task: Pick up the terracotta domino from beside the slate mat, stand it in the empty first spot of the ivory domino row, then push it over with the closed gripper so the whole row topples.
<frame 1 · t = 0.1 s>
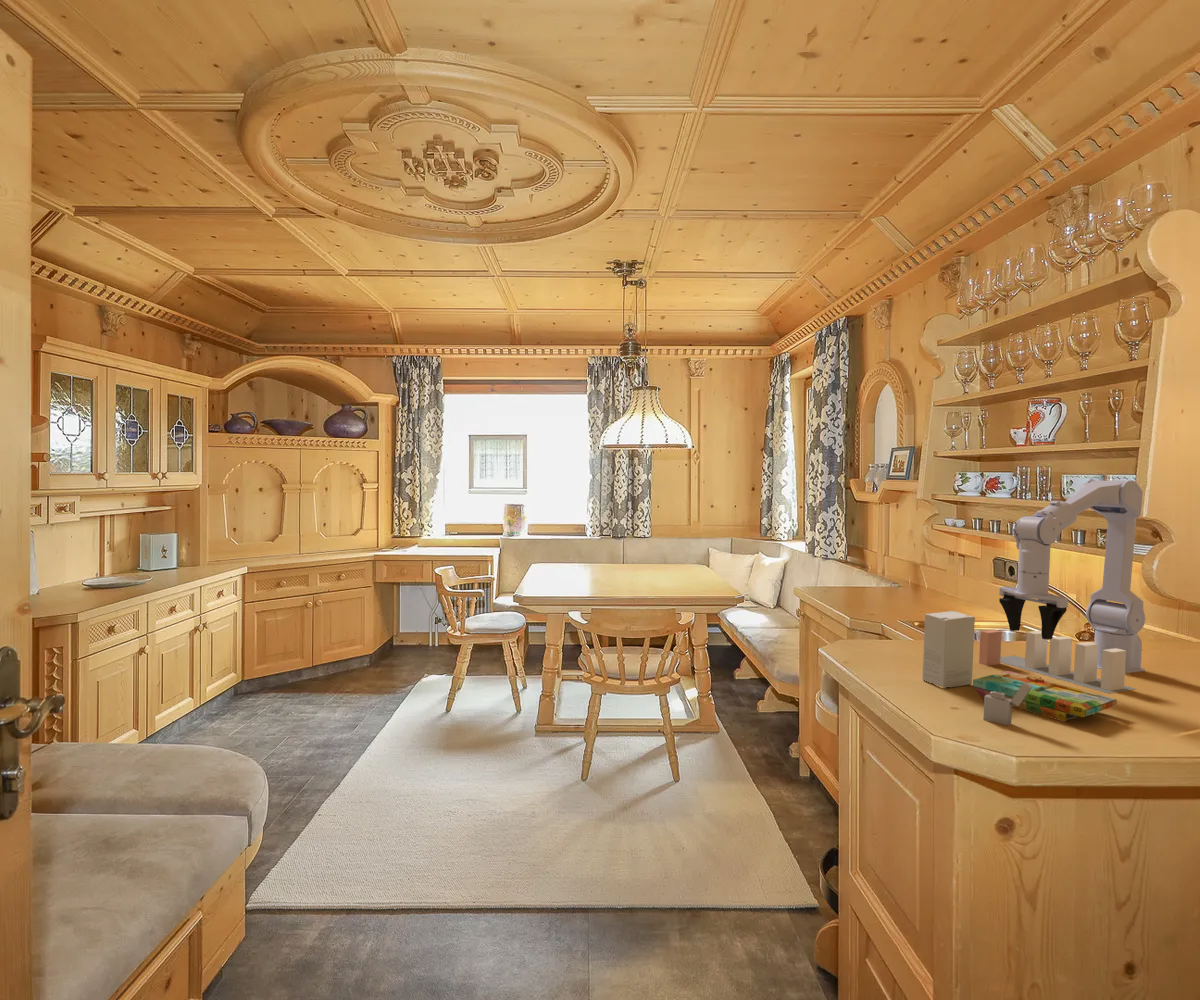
hand: (1030, 634, 148), 10 cm above the countertop, tool pointing down, fingers open, 7 cm apart
domino 3: (1059, 673, 153), resting on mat
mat: (1057, 674, 154), on the countertop
skincare box: (946, 684, 145), on the countertop
puzzle game: (1040, 709, 132), on the countertop
lighter: (1006, 724, 122), on the countertop
domino 4: (1084, 680, 148), resting on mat
domino 2: (1035, 666, 158), resting on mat
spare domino: (989, 665, 160), on the countertop
domino 5: (1112, 688, 143), resting on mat
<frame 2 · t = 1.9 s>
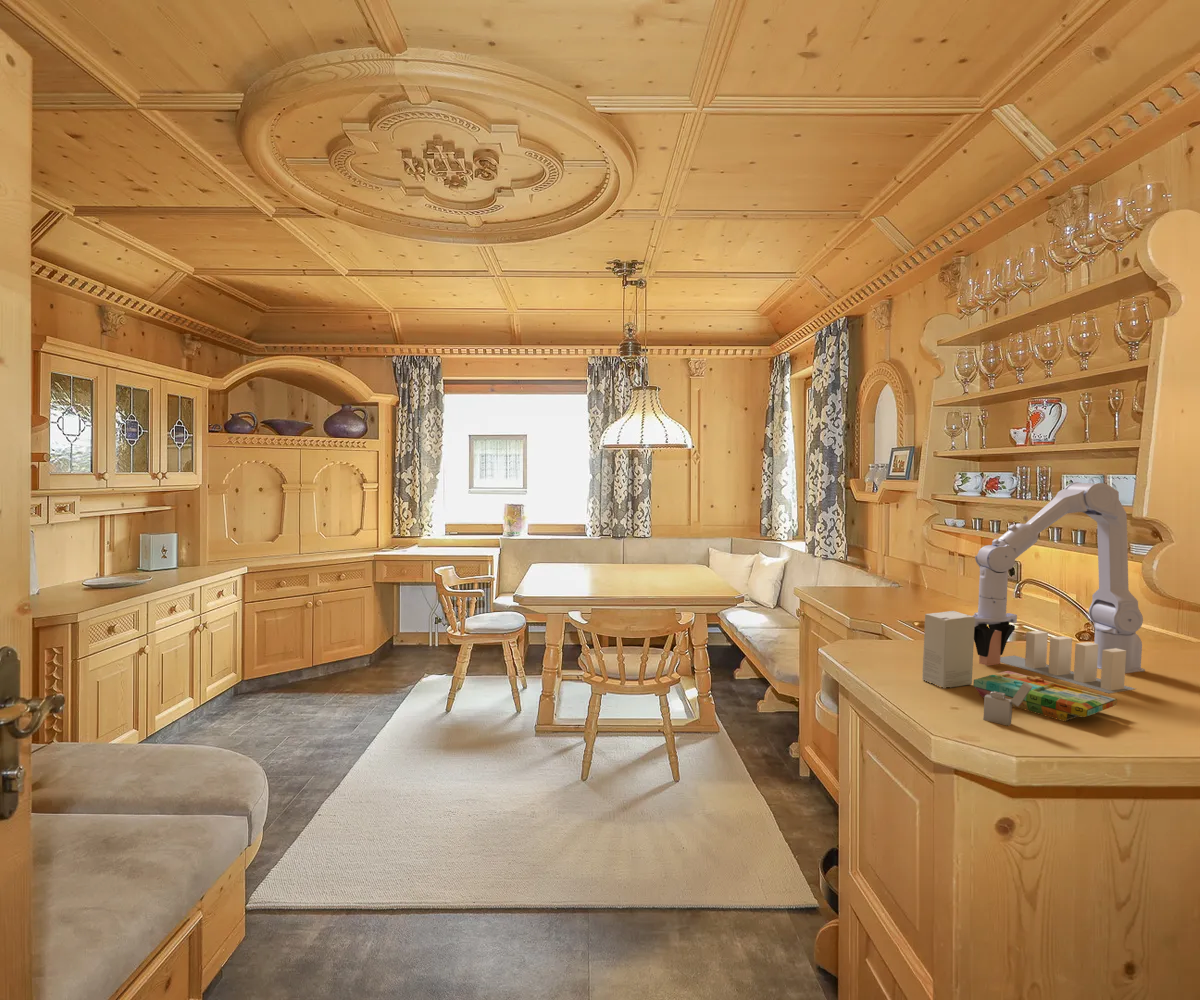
hand: (990, 654, 160), 2 cm above the countertop, tool pointing down, fingers closed on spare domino, 4 cm apart
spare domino: (989, 665, 160), on the countertop, touching gripper
everything else where it was.
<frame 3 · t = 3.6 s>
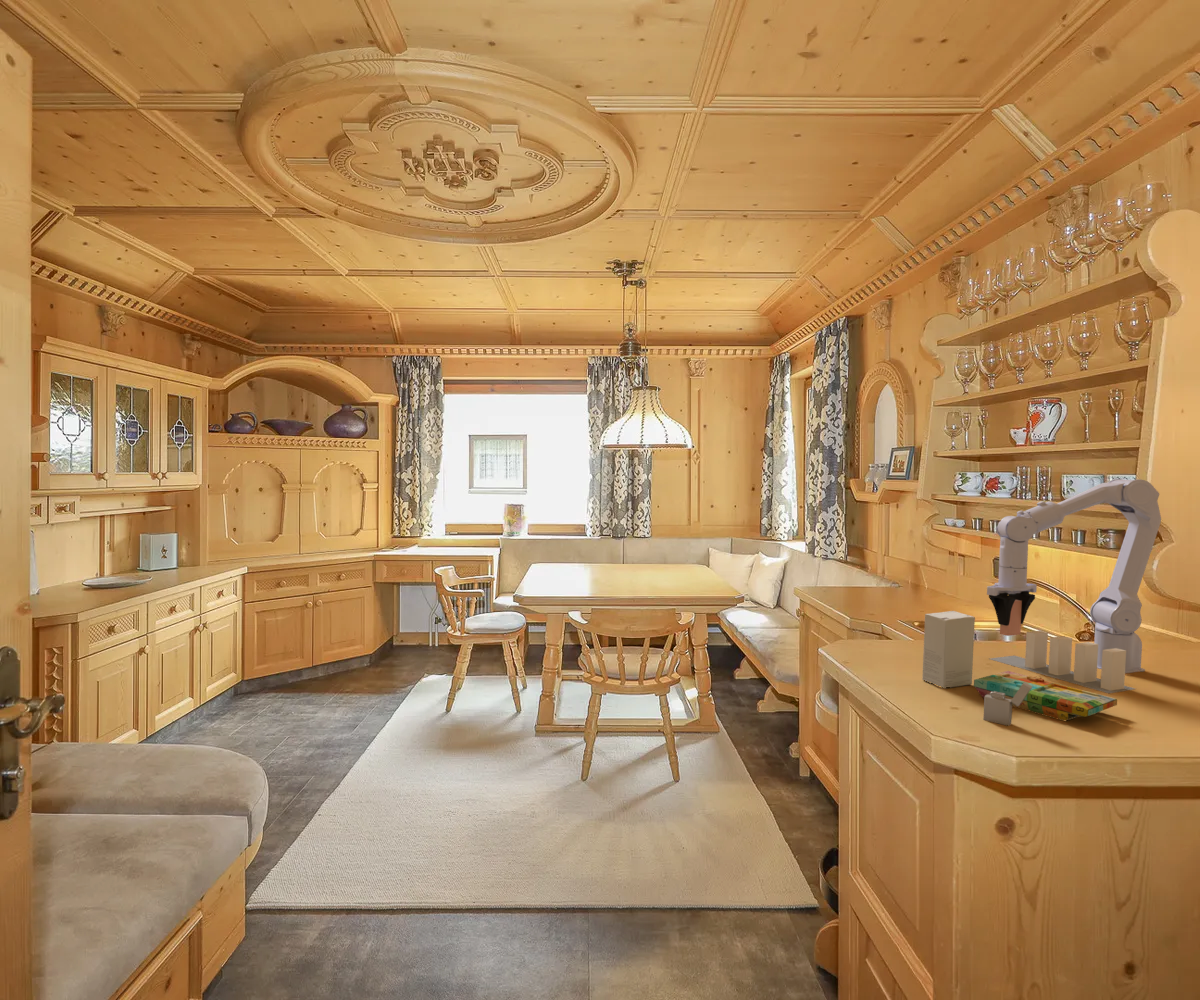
hand: (1010, 624, 162), 9 cm above the countertop, tool pointing down, fingers closed on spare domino, 4 cm apart
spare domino: (1010, 634, 162), point 7 cm above the countertop, touching gripper
everything else where it was.
when the fingers open (4 cm above the countertop, at t = 5.5 s): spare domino stays where it is, resting on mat.
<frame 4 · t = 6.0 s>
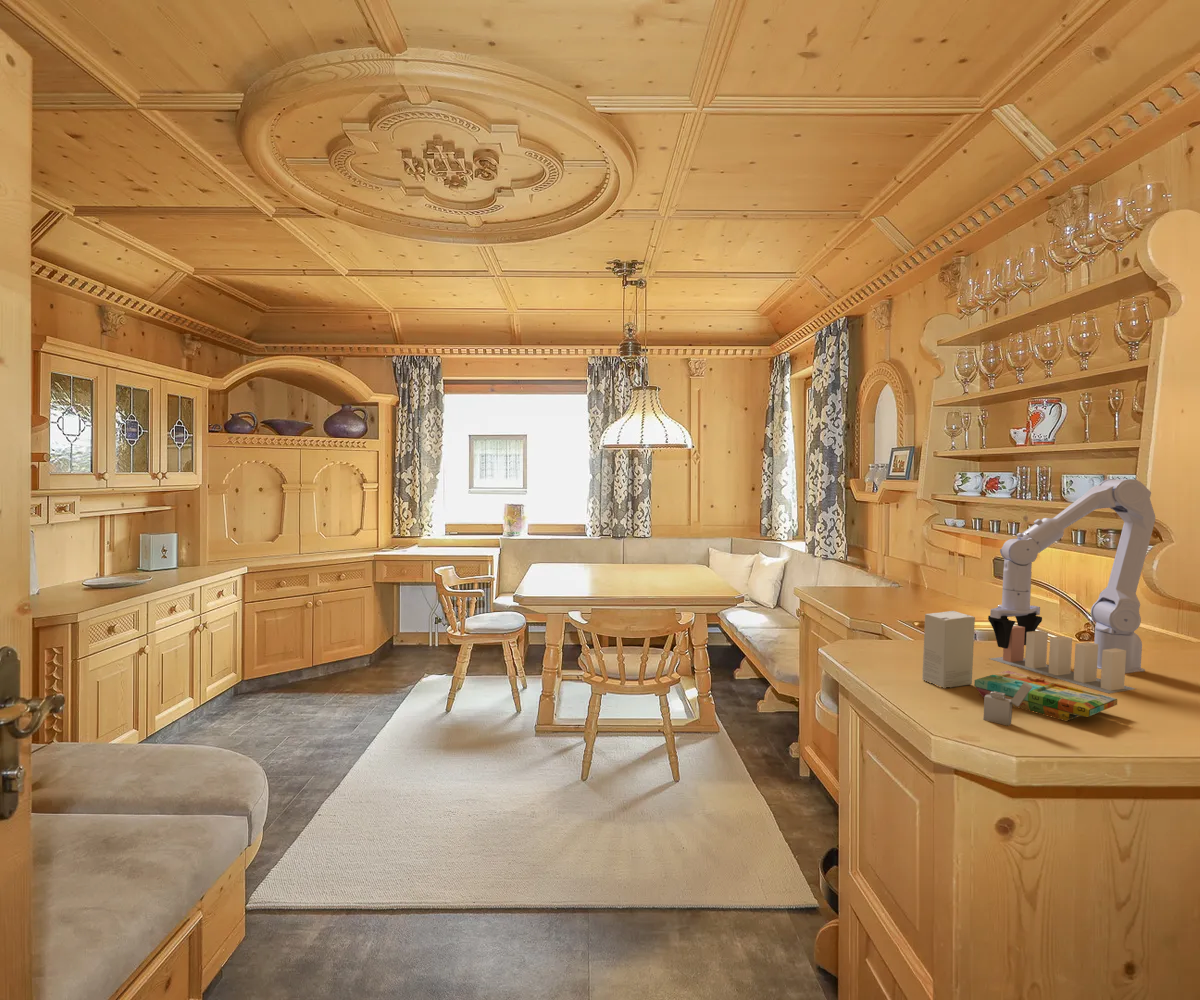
hand: (1013, 646, 163), 4 cm above the countertop, tool pointing down, fingers open, 7 cm apart
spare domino: (1013, 660, 163), resting on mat
everything else where it was.
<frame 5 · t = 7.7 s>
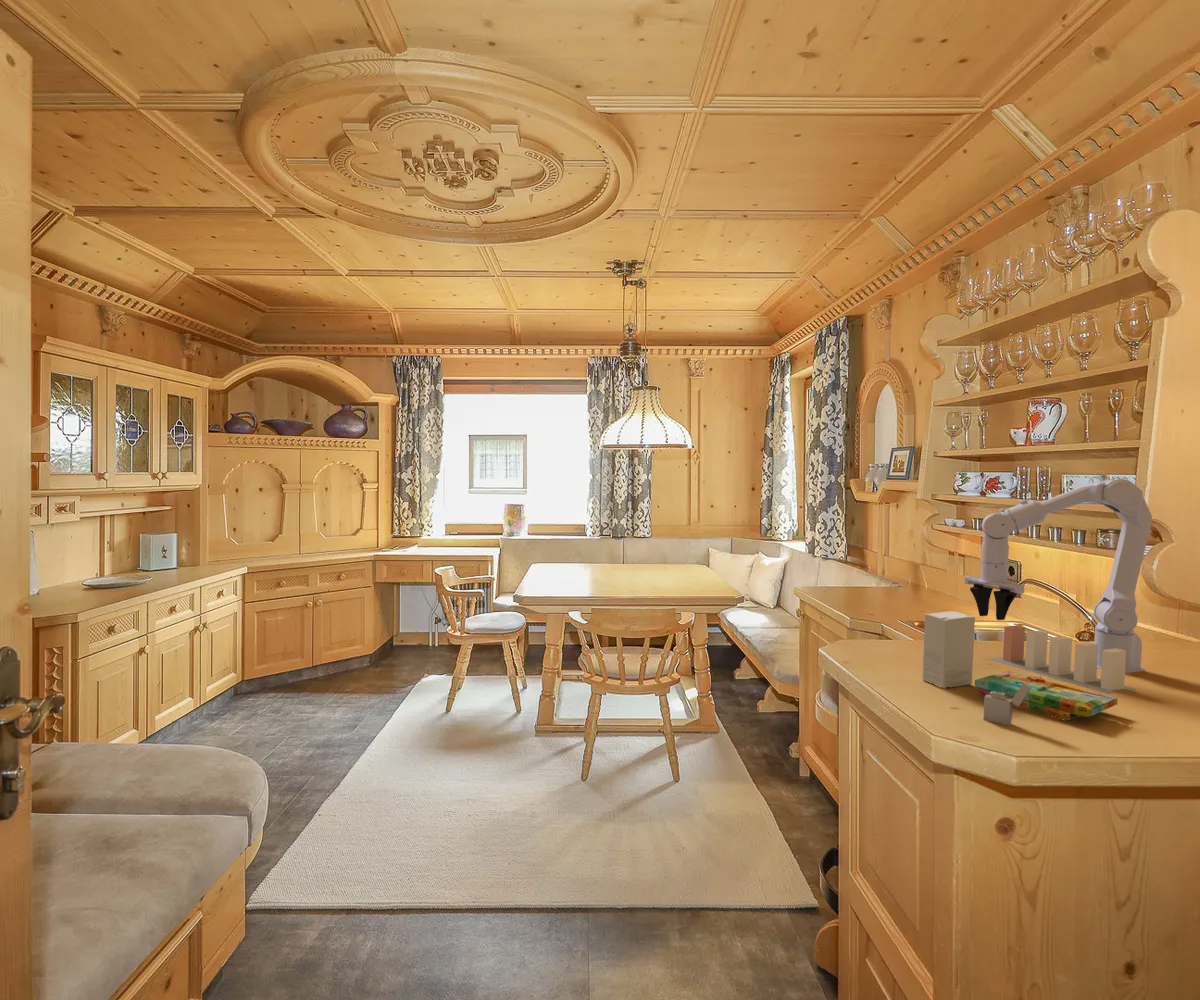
hand: (991, 617, 168), 9 cm above the countertop, tool pointing down, fingers open, 4 cm apart
nothing on the countertop moved.
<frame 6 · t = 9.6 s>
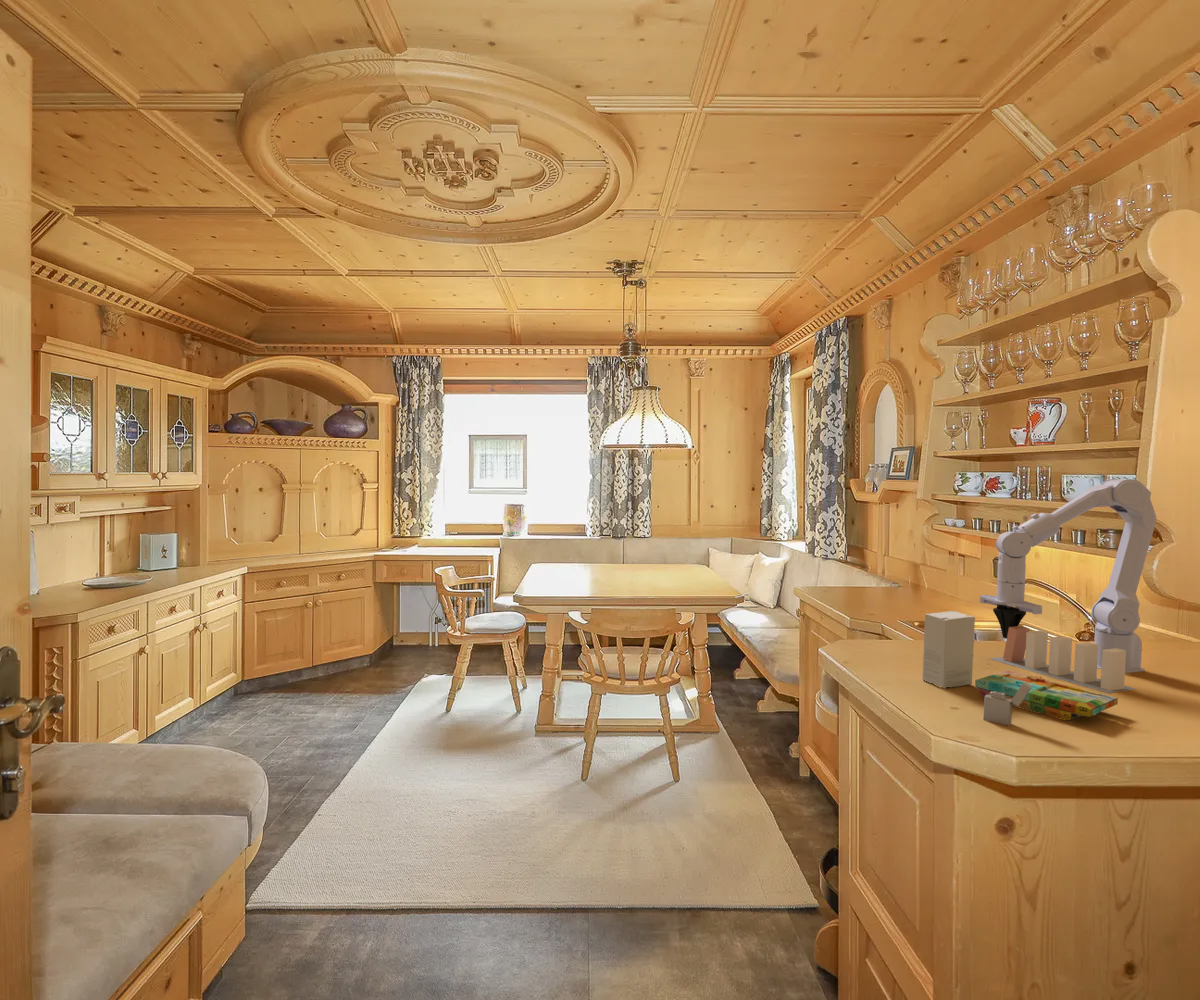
hand: (1008, 638, 164), 5 cm above the countertop, tool pointing down, fingers closed
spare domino: (1013, 659, 163), point 1 cm above the countertop, tilted 8°, touching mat
everything else where it was.
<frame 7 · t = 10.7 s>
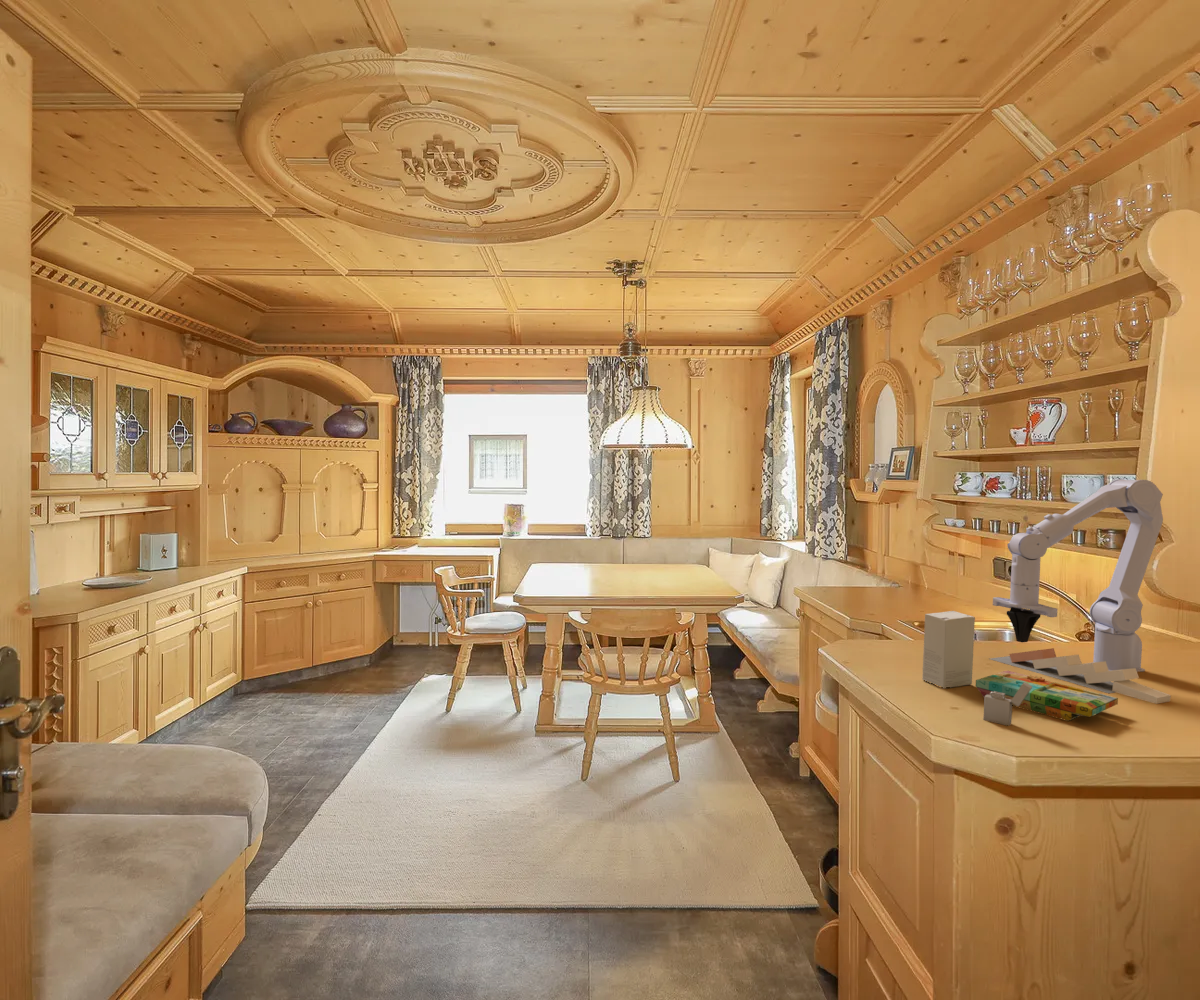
hand: (1022, 641, 161), 5 cm above the countertop, tool pointing down, fingers closed
domino 3: (1064, 670, 152), point 1 cm above the countertop, tilted 69°, touching domino 2, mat
domino 4: (1091, 677, 147), point 1 cm above the countertop, tilted 68°, touching domino 5
domino 2: (1039, 663, 157), point 1 cm above the countertop, tilted 69°, touching domino 3, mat, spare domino
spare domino: (1016, 657, 162), point 1 cm above the countertop, tilted 69°, touching domino 2, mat
domino 5: (1119, 684, 142), point 1 cm above the countertop, tilted 96°, touching domino 4, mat
everything else where it was.
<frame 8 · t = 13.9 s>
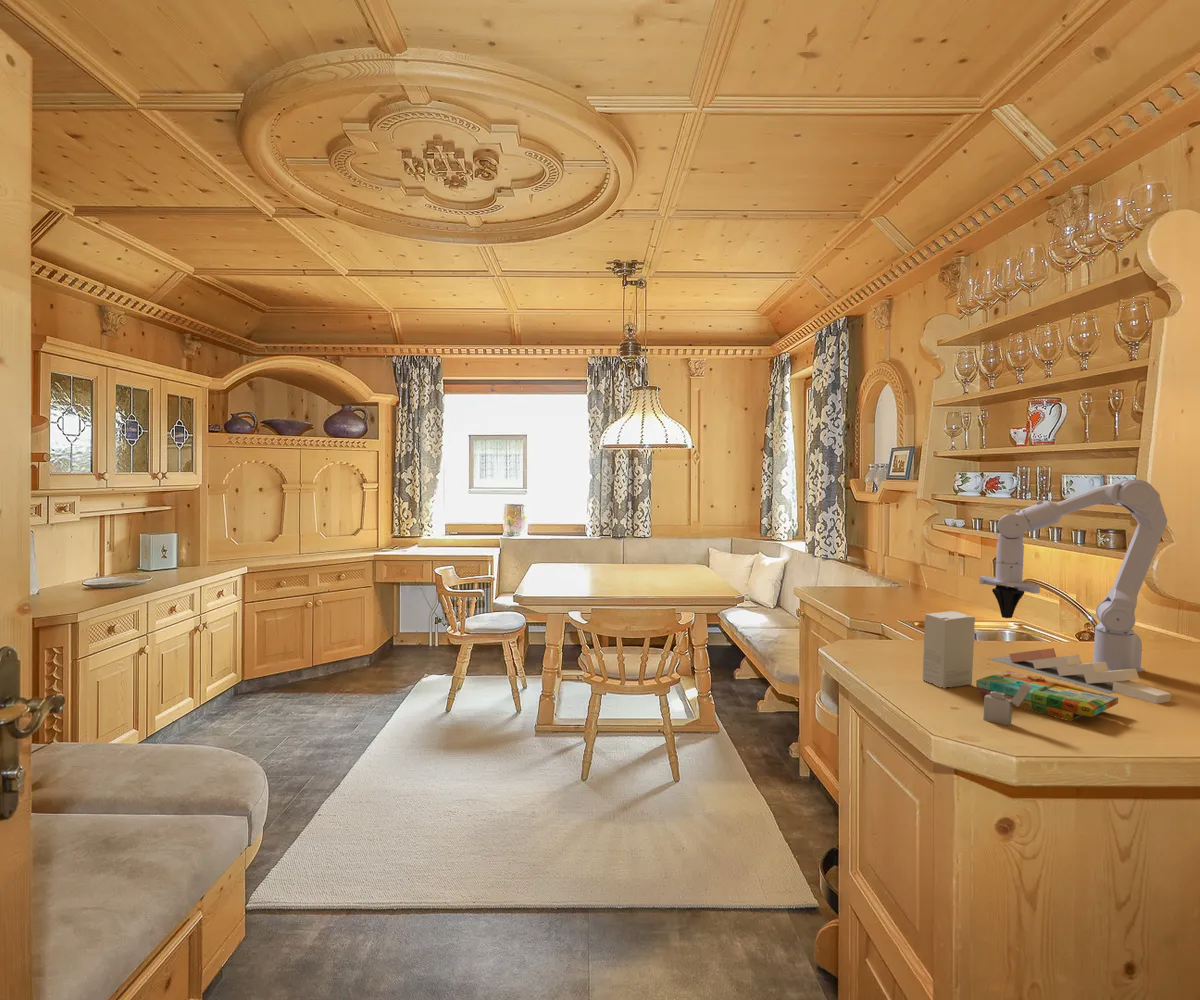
hand: (1006, 617, 169), 9 cm above the countertop, tool pointing down, fingers closed
domino 3: (1064, 670, 152), point 1 cm above the countertop, tilted 70°, touching domino 2, domino 4, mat
domino 4: (1091, 678, 147), point 1 cm above the countertop, tilted 69°, touching domino 3, domino 5, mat
everything else where it was.
at the end: domino 5 tilted 93°; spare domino tilted 69°; domino 3 tilted 70° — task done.
